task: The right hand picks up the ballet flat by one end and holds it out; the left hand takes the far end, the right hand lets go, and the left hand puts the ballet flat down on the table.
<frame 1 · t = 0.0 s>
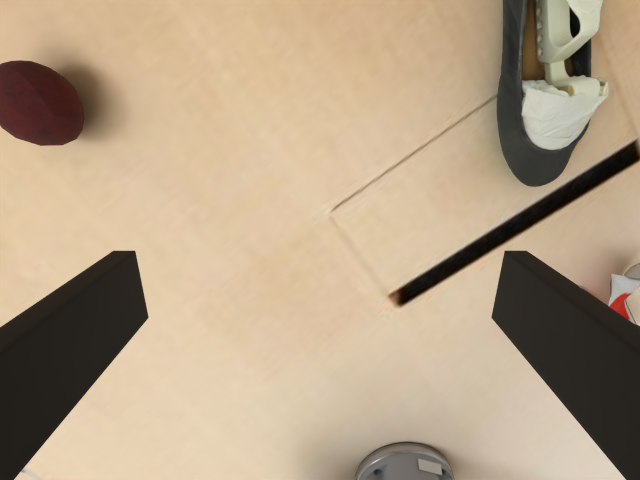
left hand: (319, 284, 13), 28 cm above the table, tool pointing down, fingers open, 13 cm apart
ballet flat: (524, 70, 35), on the table
fish: (580, 295, 44), on the table
dark red ball: (64, 106, 37), on the table
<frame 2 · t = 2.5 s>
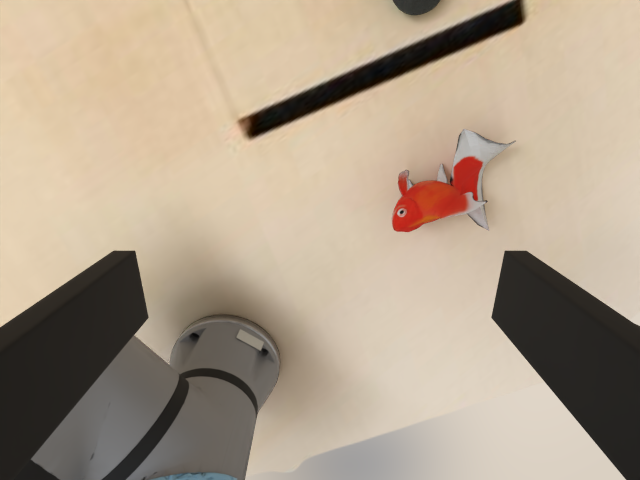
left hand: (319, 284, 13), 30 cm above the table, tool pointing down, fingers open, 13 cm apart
fish: (440, 176, 42), on the table
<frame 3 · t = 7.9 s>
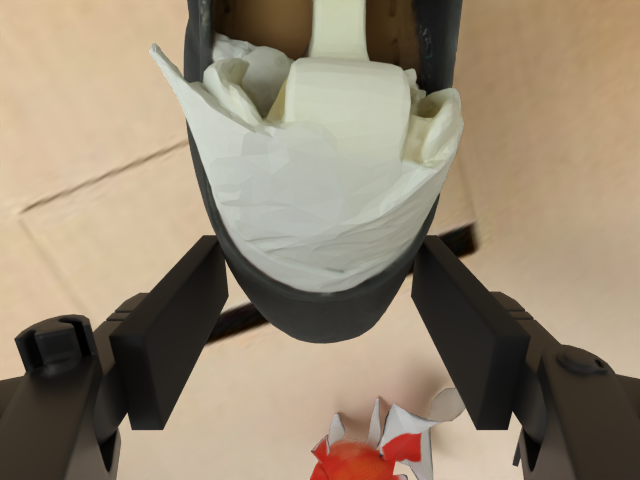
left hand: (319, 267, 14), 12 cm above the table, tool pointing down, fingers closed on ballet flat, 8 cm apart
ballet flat: (313, 34, 12), point 11 cm above the table, touching left hand, right hand
fish: (378, 408, 33), on the table
when the right hand's fingers open (15 cm above the table, at t = 8.8 s): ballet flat stays where it is, held by the left hand.
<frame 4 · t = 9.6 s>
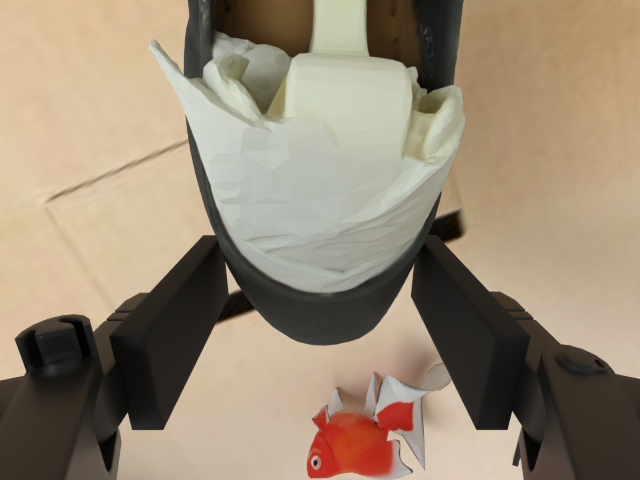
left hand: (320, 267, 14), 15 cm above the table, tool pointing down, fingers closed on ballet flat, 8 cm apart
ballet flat: (313, 34, 12), point 14 cm above the table, touching left hand
fish: (374, 384, 35), on the table
when the left hand's fingers open (2 cm above the table, at t = 16.6 s): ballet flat stays where it is, on the table.
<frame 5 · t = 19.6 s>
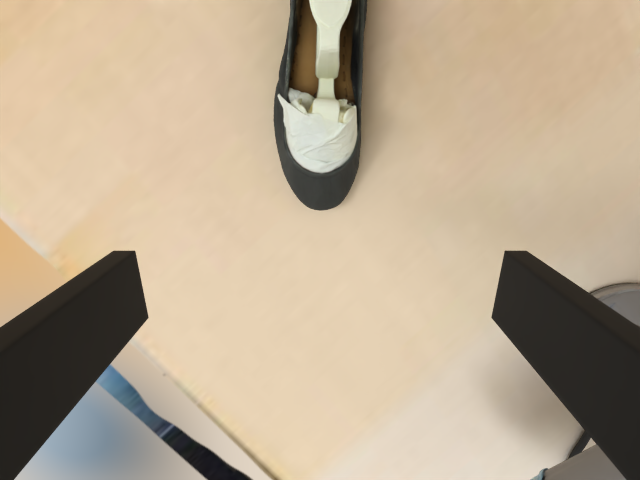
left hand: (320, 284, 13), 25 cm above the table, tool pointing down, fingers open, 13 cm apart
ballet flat: (318, 83, 33), on the table
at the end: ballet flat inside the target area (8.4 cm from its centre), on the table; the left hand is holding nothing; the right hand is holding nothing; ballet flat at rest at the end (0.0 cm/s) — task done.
